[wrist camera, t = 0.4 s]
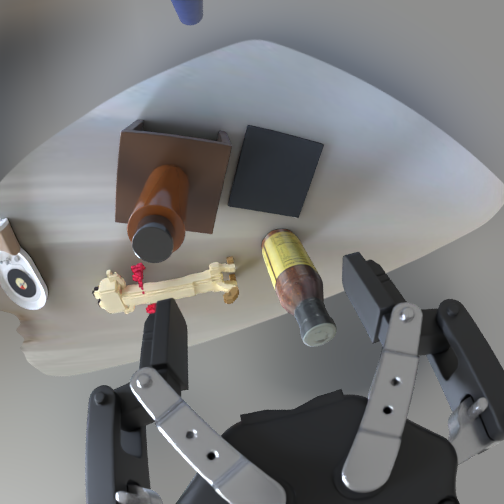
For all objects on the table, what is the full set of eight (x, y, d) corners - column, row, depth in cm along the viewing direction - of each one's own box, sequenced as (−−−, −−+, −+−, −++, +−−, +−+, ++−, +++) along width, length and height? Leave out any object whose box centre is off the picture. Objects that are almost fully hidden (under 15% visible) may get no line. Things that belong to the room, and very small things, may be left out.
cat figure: (228, 239, 46) (85, 268, 43) (239, 272, 39) (73, 304, 36) (235, 285, 52) (105, 309, 48) (245, 320, 45) (100, 345, 41)
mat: (247, 124, 35) (248, 125, 35) (322, 144, 38) (324, 144, 38) (227, 204, 42) (228, 206, 41) (297, 216, 44) (298, 217, 44)
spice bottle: (149, 162, 28) (122, 213, 19) (192, 167, 30) (188, 221, 20) (145, 202, 31) (121, 267, 21) (186, 207, 32) (180, 274, 22)
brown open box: (136, 119, 32) (120, 131, 26) (226, 131, 35) (232, 146, 29) (129, 195, 38) (114, 222, 32) (210, 205, 41) (212, 234, 35)
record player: (4, 225, 33) (52, 313, 44) (13, 215, 35) (57, 302, 47) (-32, 237, 32) (15, 316, 44) (-24, 228, 34) (20, 305, 46)
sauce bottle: (287, 261, 49) (326, 357, 33) (254, 253, 47) (281, 354, 31) (304, 230, 46) (355, 322, 30) (269, 219, 44) (309, 316, 28)
